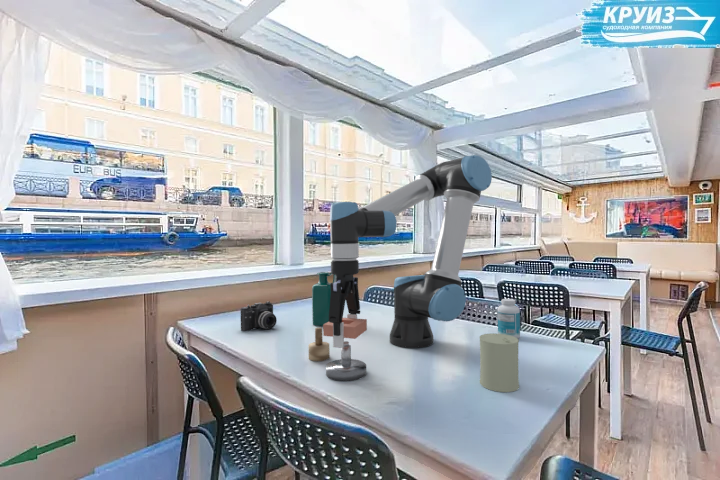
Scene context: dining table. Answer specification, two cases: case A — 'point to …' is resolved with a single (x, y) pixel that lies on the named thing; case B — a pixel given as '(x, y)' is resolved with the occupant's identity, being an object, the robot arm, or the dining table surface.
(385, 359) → the dining table surface
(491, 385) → the can
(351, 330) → the terracotta clay block
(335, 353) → the dining table surface
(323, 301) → the green bottle
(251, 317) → the camera
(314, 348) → the stand
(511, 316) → the pill bottle
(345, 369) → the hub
